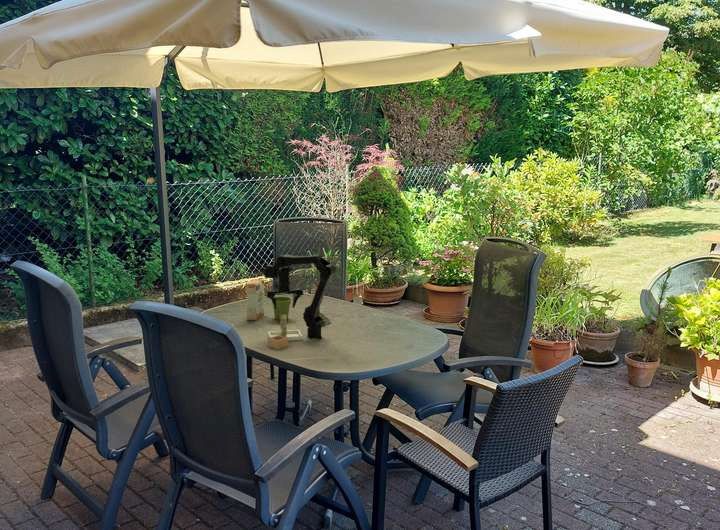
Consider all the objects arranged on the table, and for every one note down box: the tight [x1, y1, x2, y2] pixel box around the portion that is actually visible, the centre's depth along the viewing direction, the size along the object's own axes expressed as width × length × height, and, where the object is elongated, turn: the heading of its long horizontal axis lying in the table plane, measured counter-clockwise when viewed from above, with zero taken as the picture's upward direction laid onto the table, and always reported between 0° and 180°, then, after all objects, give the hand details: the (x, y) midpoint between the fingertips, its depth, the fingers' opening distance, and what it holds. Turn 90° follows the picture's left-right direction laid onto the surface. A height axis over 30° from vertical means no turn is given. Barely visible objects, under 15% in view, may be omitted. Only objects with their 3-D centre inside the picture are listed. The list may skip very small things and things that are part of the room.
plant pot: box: [271, 296, 293, 320], centre depth 348 cm, size 12×12×11 cm
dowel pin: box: [279, 314, 288, 337], centre depth 307 cm, size 3×3×12 cm
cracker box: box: [246, 278, 265, 321], centre depth 348 cm, size 14×6×21 cm, turn 171°
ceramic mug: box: [319, 308, 331, 324], centre depth 339 cm, size 11×8×8 cm
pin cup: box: [267, 335, 289, 350], centre depth 297 cm, size 7×7×4 cm
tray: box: [267, 329, 304, 342], centre depth 310 cm, size 16×12×2 cm
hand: (284, 309), depth 317 cm, fingers open, 9 cm apart
